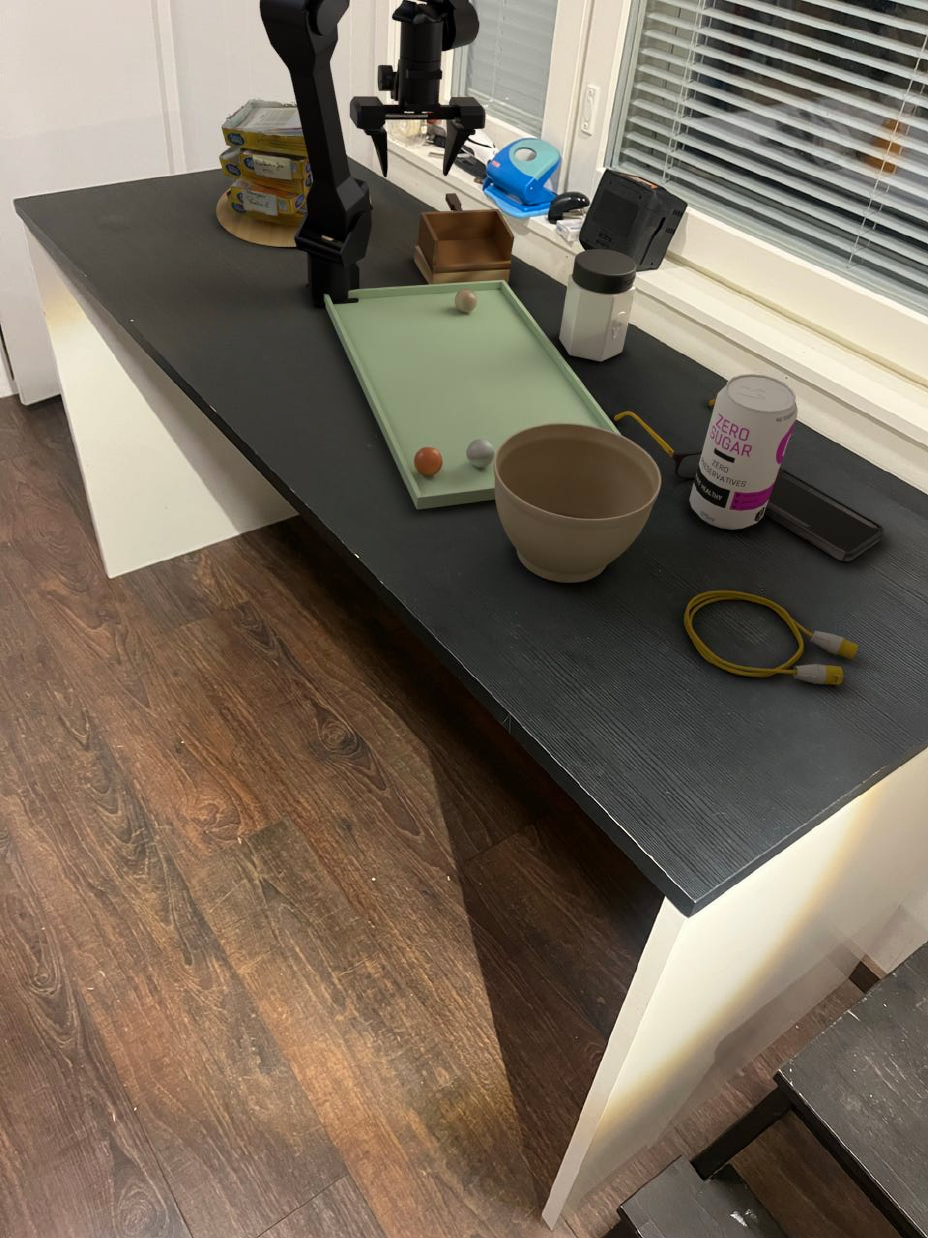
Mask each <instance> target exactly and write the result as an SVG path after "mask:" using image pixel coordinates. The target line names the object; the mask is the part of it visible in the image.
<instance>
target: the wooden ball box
mask: <svg viewBox="0 0 928 1238" xmlns="http://www.w3.org/2000/svg"><path fill="white" fill-rule="evenodd" d="M444 198H445V199H444V200H445V202H446V204H447V206H448V208H449V210H440V211H421V212H420V215H419V216H420V217H419V226H418V227H419V228H418V237H417V246H419V247H420V249H421V251H422V253H423V255H424V257H425V259H426V261H427V264H428V266H429V268H430V270H431V272H432V274H442V273H458V272H475V271H491V270H507V269H510V270H511V269H512V260H511V259H512V252H513V247H514V242H515V237H516V236H515V234H514V233H513V231H512V229H511V227H510V226H509V224H508V222H507V221H506V219H505V218H504V215H503V214H502V212H501V211H500V209H499V208H487V209H484V208H483V209H463V208H462V205H463V204H462V202H461V200H460V198H459V196H458V195H457V193H456V192H453V193H452V192H450V193H445V197H444Z"/></svg>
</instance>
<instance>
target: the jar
mask: <svg viewBox="0 0 928 1238" xmlns="http://www.w3.org/2000/svg"><path fill="white" fill-rule="evenodd" d="M637 267H638V266H637V264H636V261H635V260H634V259H633V258H631V257H630V256H628V255H626V254H624V253H621V252H618V251H616V250H611V249H603V248H592V249H585V250H583V251H580V252H578V253H577V254H576V256H575V257H574V262H573V268H572V273H570V274H569V275H568V278H567V279H568V280H567V285H566V292H565V299H564V303H563V304H564V305H563V311H562V318H561V325H560V331H559V336H558V340H559V341H560V343H561V344H562V346H563V347H564V349H565V350H566V352H567V354H568V355H569V356H572V357H577V358H581V359H585V360H586V359H587V360H590V361H595V362H599V363H601V362H603V361H606V360H608V359H611V358H613V357H615V356H617V355H619V354H621V353H622V352H623V350H624V346H625V341H626V336H627V331H628V326H629V322H630V317H631V312H632V308H633V302H634V299H635V298H634V297H635V294H636V286H635V285H634V282H635V279H636V276H637V275H636V274H637Z"/></svg>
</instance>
